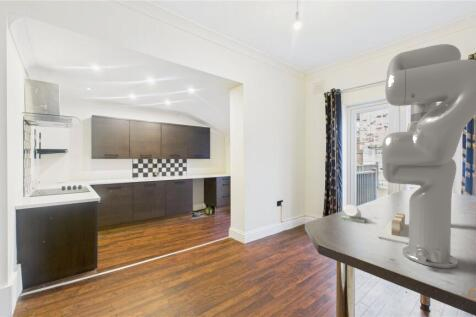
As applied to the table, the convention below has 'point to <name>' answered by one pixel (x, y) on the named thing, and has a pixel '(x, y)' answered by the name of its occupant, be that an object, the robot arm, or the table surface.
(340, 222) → the table surface
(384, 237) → the grey mat
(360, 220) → the sage stop bar
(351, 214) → the white bottle
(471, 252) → the table surface
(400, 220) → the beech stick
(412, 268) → the table surface
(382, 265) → the table surface
